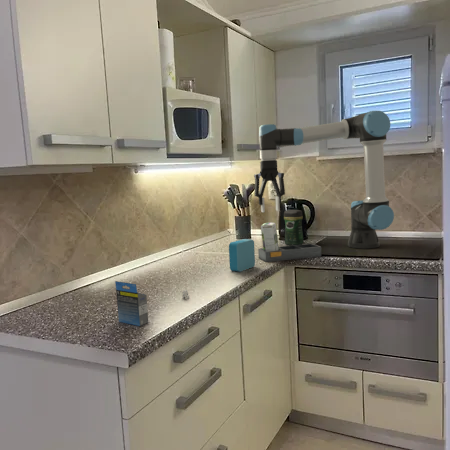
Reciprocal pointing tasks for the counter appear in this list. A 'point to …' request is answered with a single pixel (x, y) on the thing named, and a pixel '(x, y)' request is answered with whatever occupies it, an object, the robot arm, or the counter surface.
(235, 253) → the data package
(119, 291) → the label tape cartridge
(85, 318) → the counter surface
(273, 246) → the syrup box
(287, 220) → the coffee jar
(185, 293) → the adhesive hook
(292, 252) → the rack
